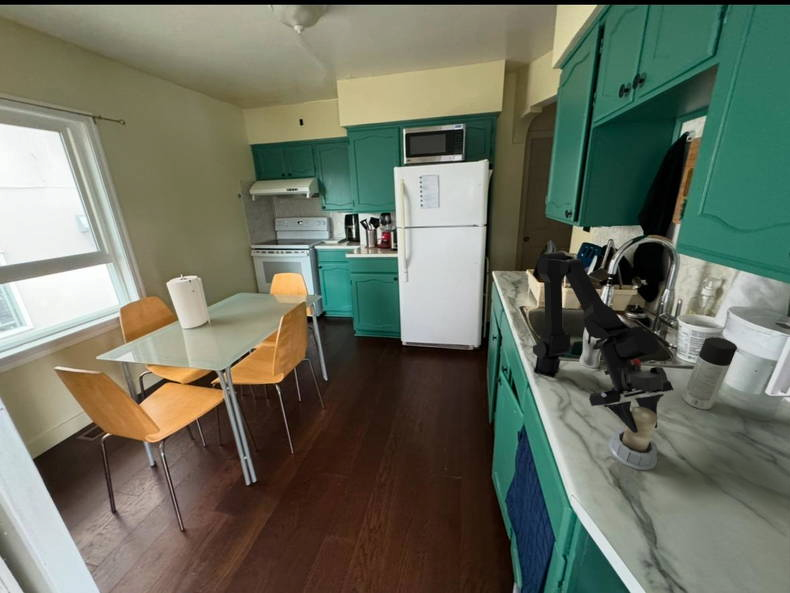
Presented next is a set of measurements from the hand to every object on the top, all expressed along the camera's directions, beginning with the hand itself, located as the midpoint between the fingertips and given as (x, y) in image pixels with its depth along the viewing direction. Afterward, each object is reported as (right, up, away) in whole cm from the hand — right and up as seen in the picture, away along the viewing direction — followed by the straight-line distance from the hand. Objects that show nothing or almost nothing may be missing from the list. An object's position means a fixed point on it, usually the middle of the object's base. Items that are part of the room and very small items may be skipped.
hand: (645, 430), depth 82 cm
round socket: (0, -7, +5) cm, 9 cm away
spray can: (+29, 0, +20) cm, 35 cm away
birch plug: (0, -6, +4) cm, 7 cm away
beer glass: (+8, +8, +38) cm, 40 cm away
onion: (+16, +6, +32) cm, 36 cm away
